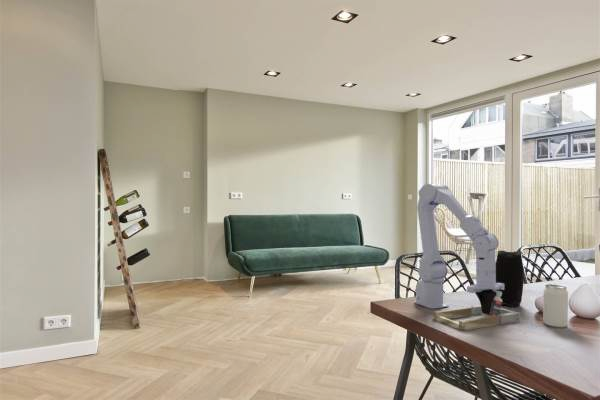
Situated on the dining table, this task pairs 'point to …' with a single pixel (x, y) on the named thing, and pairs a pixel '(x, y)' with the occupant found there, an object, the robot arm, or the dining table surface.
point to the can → (555, 306)
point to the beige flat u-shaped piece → (463, 325)
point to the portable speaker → (510, 277)
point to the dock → (504, 315)
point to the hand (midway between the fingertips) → (486, 313)
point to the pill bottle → (495, 305)
